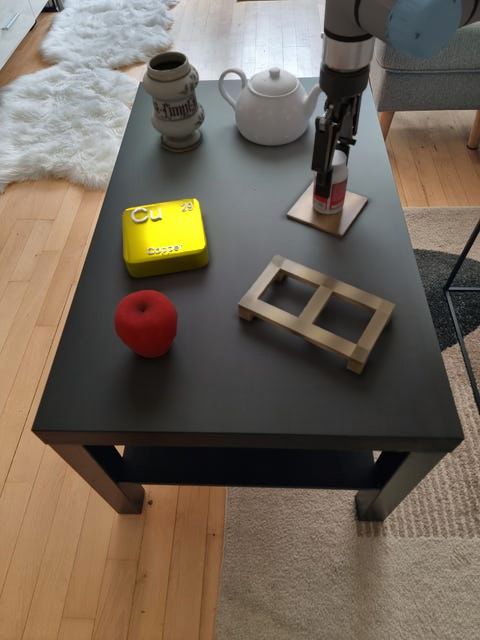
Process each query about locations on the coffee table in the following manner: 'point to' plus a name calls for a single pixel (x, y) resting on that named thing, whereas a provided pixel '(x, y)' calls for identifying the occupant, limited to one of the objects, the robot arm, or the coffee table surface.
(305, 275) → the bottle rack
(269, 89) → the teapot
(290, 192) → the coffee table surface
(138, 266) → the element tile
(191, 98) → the apothecary jar
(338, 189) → the pill bottle
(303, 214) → the brown flat square
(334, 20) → the robot arm
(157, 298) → the apple
